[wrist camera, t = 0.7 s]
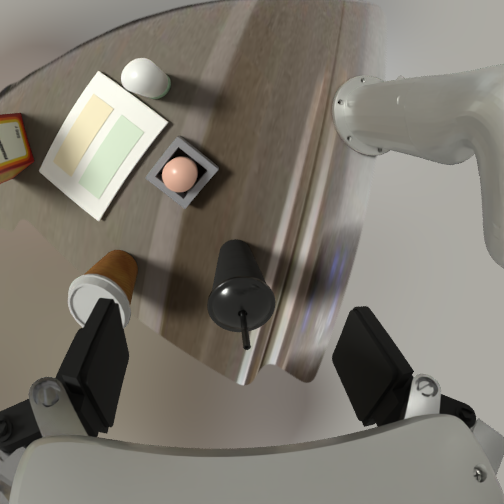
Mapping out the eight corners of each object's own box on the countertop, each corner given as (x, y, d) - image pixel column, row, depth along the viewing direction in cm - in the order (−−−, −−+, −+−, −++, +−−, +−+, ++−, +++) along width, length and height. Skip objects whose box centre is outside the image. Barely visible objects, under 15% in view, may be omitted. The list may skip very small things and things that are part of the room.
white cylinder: (156, 67, 29) (138, 52, 21) (176, 82, 31) (163, 69, 23) (137, 89, 30) (114, 80, 22) (157, 104, 32) (139, 98, 24)
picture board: (100, 71, 28) (98, 71, 27) (168, 122, 33) (167, 122, 32) (41, 170, 33) (38, 171, 32) (100, 219, 38) (98, 221, 37)
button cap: (179, 149, 34) (176, 151, 31) (204, 169, 35) (203, 172, 33) (159, 175, 35) (155, 178, 32) (184, 194, 36) (181, 199, 34)
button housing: (180, 135, 34) (177, 136, 32) (218, 166, 37) (218, 169, 35) (149, 174, 36) (145, 178, 34) (186, 204, 38) (185, 209, 36)
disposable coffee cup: (87, 245, 39) (54, 284, 28) (138, 235, 40) (112, 275, 29) (106, 294, 43) (82, 339, 33) (154, 288, 44) (138, 336, 33)
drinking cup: (245, 221, 41) (265, 302, 23) (268, 261, 44) (298, 353, 26) (200, 245, 42) (189, 337, 24) (226, 282, 45) (232, 381, 27)
